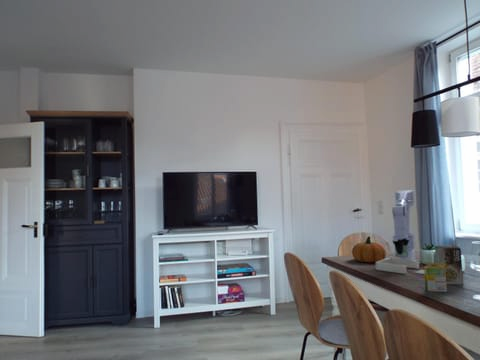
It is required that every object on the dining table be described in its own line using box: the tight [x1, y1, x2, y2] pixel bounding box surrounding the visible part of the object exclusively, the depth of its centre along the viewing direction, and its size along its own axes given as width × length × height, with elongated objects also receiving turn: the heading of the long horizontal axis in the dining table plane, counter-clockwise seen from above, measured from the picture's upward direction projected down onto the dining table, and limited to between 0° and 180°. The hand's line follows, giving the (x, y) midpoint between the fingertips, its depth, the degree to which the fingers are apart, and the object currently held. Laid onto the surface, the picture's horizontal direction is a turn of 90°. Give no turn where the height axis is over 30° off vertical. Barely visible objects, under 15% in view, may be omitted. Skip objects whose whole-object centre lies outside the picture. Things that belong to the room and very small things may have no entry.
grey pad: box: [413, 269, 425, 276], centre depth 169 cm, size 9×9×1 cm
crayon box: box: [423, 262, 448, 293], centre depth 138 cm, size 7×3×12 cm, turn 78°
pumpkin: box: [351, 236, 387, 264], centre depth 205 cm, size 19×19×15 cm
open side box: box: [375, 257, 420, 274], centre depth 181 cm, size 18×16×4 cm
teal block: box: [394, 245, 408, 258], centre depth 179 cm, size 4×5×6 cm
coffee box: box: [434, 245, 464, 286], centre depth 150 cm, size 9×6×16 cm
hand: (401, 253), depth 179 cm, fingers closed on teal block, 4 cm apart
